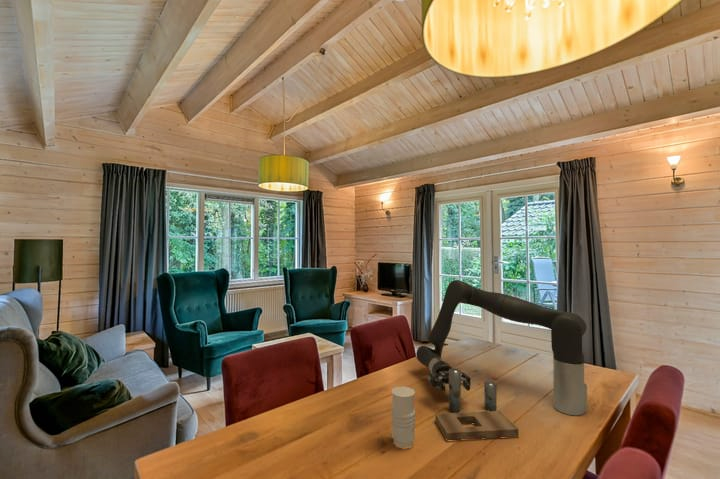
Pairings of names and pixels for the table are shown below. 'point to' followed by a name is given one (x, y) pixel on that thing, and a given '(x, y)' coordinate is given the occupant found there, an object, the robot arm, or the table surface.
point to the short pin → (490, 395)
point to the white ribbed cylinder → (403, 416)
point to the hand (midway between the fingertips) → (456, 388)
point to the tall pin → (455, 390)
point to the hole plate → (486, 422)
